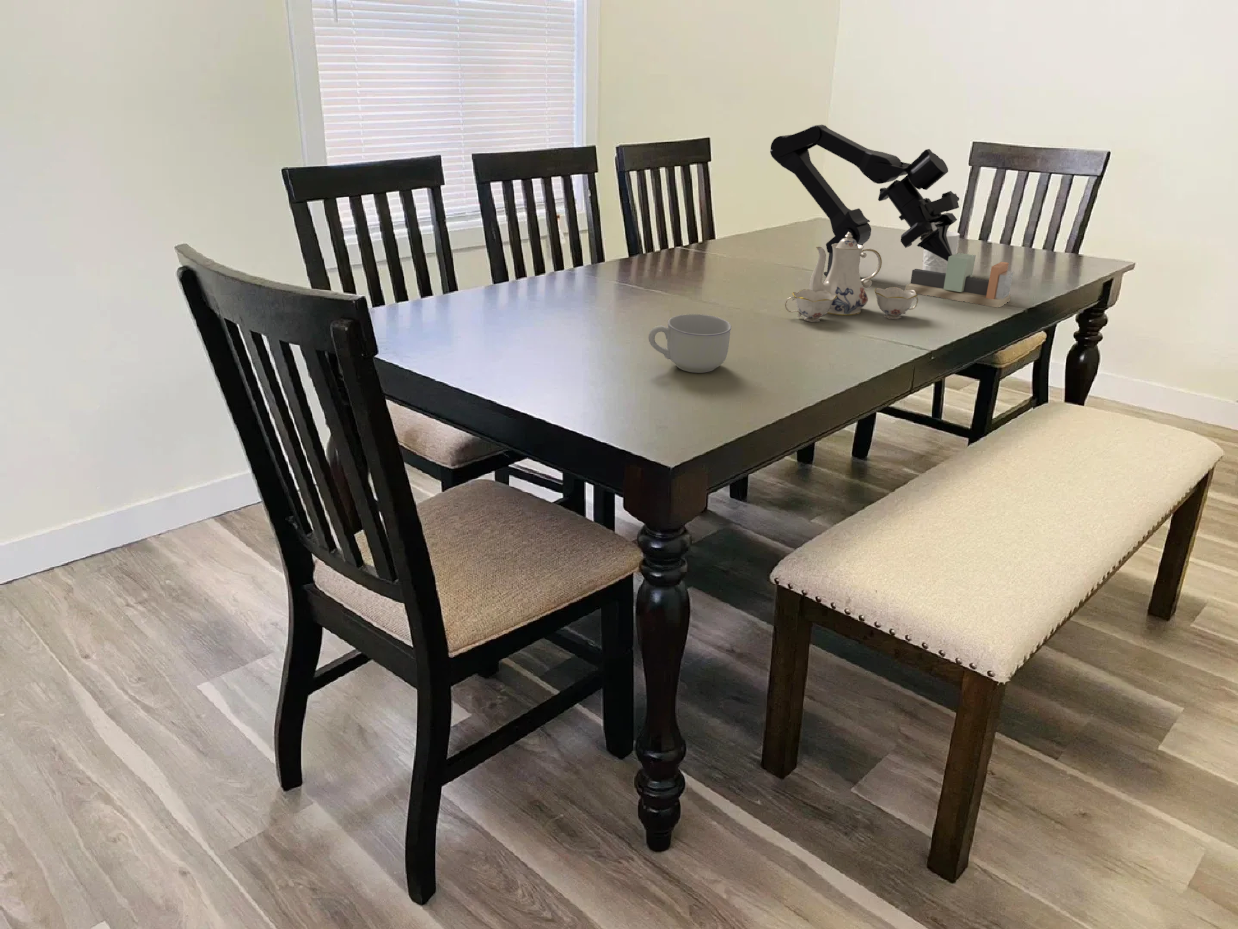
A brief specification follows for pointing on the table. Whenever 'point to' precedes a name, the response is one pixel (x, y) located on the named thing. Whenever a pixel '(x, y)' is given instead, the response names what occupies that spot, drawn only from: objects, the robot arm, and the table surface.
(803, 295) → the chinaware
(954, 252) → the white cup
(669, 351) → the teacup
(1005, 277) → the connector
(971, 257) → the sleeve
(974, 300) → the track board
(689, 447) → the table surface
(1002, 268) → the band
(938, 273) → the rail
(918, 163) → the robot arm
